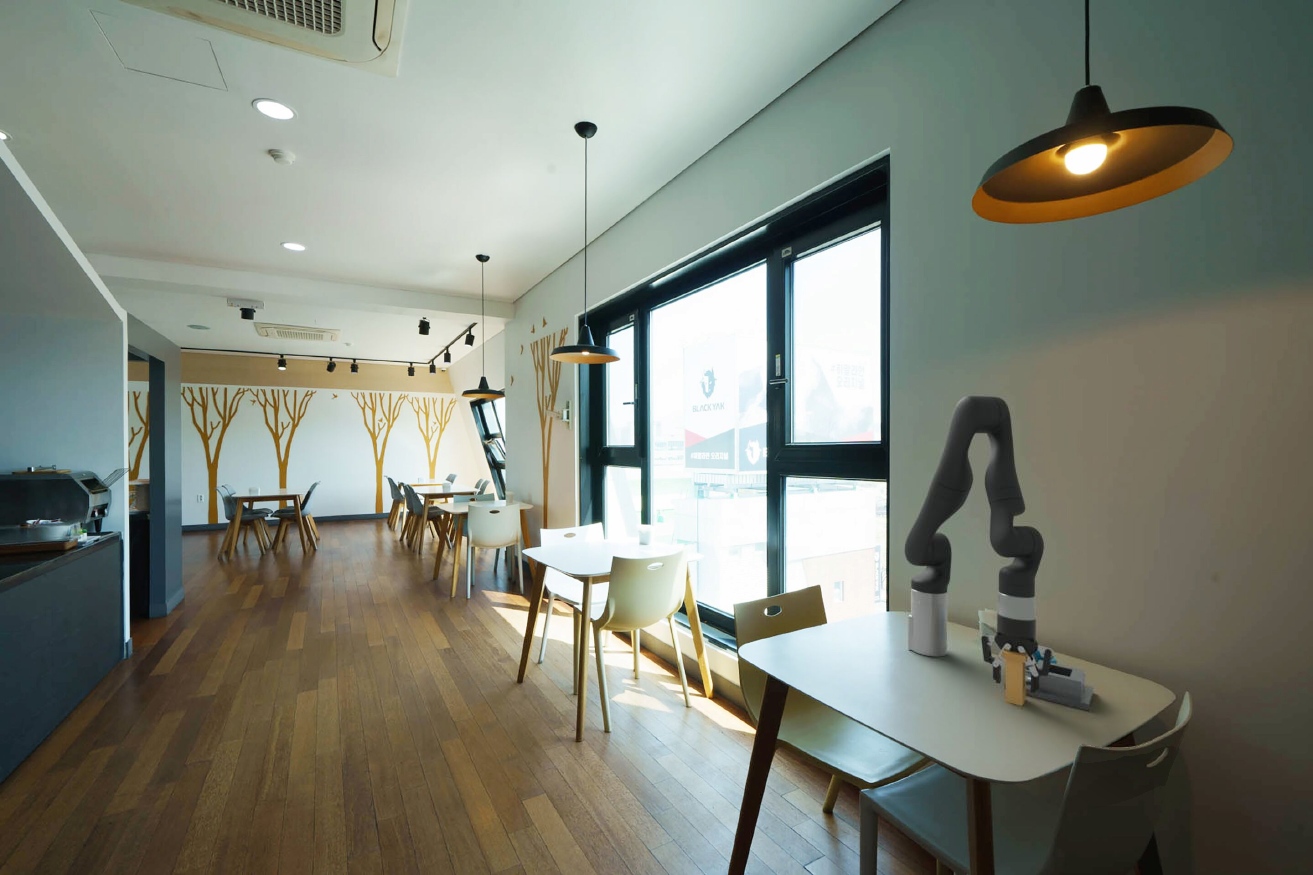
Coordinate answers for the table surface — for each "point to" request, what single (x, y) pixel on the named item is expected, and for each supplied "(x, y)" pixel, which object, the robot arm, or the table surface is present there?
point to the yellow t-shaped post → (1015, 677)
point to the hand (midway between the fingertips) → (1015, 686)
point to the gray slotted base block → (1062, 686)
